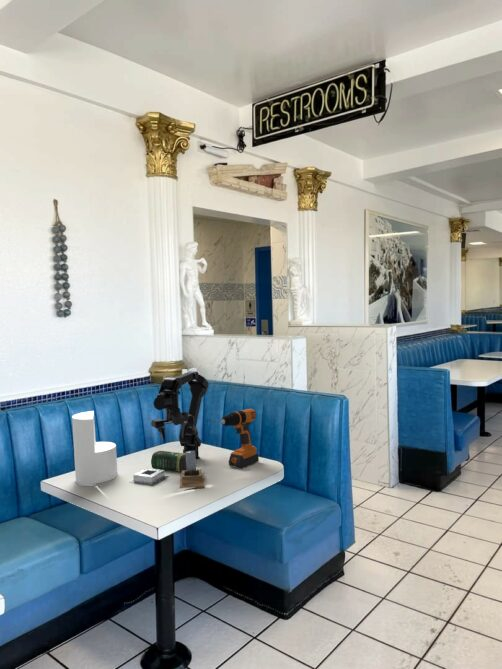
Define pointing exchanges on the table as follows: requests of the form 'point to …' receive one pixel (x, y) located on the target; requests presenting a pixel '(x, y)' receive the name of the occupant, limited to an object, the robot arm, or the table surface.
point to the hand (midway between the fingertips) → (173, 439)
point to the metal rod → (191, 463)
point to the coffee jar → (169, 461)
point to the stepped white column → (91, 452)
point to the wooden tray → (192, 480)
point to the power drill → (242, 438)
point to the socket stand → (149, 477)
